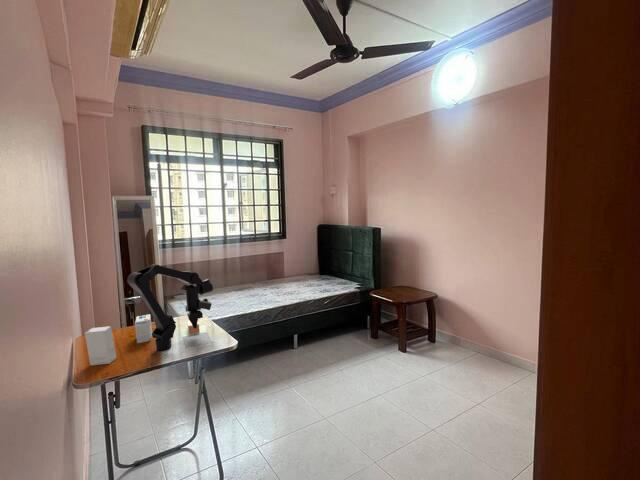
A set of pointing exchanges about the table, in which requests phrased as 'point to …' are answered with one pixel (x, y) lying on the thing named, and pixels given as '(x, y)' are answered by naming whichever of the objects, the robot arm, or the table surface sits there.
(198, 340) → the board
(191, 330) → the cream block
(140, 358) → the table surface
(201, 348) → the table surface
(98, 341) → the skincare box
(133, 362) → the table surface
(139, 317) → the light bulb box
